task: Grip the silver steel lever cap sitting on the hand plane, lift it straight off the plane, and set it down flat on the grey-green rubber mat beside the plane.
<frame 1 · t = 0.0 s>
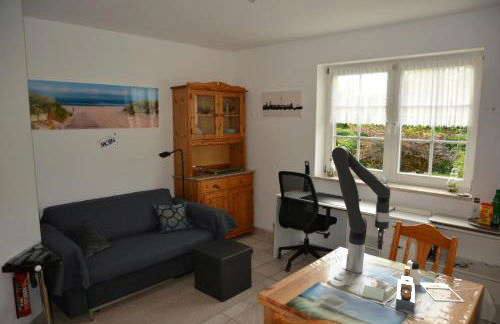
hand: (380, 246, 199), 17 cm above the table, tool pointing down, fingers open, 8 cm apart
lever cap: (406, 287, 175), point 6 cm above the table, touching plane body
medicine bottle: (411, 282, 194), on the table
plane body: (404, 299, 175), on the table
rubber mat: (373, 293, 180), on the table
photo frame: (440, 293, 184), on the table
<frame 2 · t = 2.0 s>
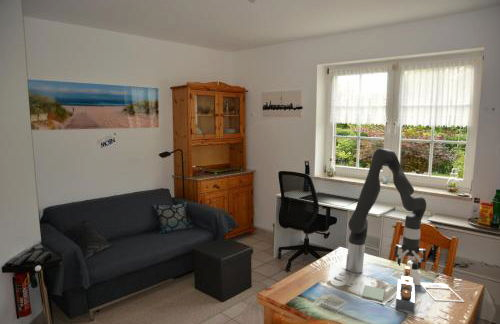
hand: (408, 266, 174), 17 cm above the table, tool pointing down, fingers open, 8 cm apart
nothing on the table moved.
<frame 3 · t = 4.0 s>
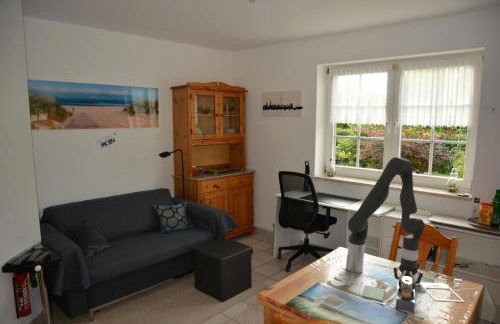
hand: (406, 288, 175), 5 cm above the table, tool pointing down, fingers closed on lever cap, 5 cm apart
lever cap: (406, 287, 175), point 6 cm above the table, touching gripper, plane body
everything else where it was.
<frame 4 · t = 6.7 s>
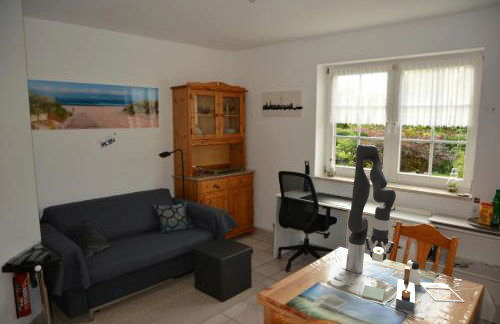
hand: (377, 258, 177), 19 cm above the table, tool pointing down, fingers closed on lever cap, 5 cm apart
lever cap: (377, 258, 177), point 20 cm above the table, touching gripper
everything else where it was.
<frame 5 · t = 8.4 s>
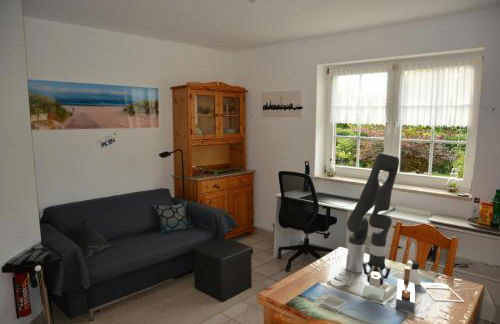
hand: (374, 283, 179), 6 cm above the table, tool pointing down, fingers closed on lever cap, 5 cm apart
lever cap: (374, 282, 179), point 6 cm above the table, touching gripper
everything else where it was.
when the fingers open (2 cm above the table, at t = 9.6 s): lever cap drops 1 cm, resting on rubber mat.
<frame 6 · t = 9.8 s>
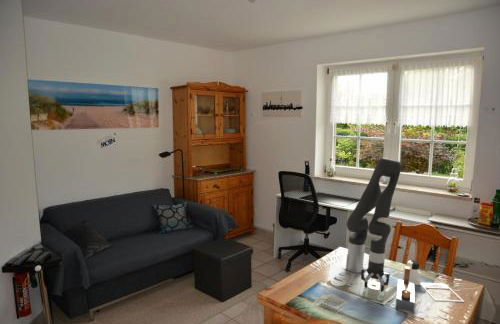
hand: (373, 289, 179), 2 cm above the table, tool pointing down, fingers open, 7 cm apart
lever cap: (373, 292, 179), point 1 cm above the table, touching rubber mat
everything else where it was.
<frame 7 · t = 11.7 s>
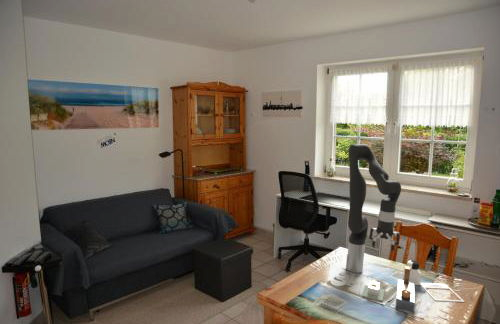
hand: (382, 249, 178), 24 cm above the table, tool pointing down, fingers open, 8 cm apart
nothing on the table moved.
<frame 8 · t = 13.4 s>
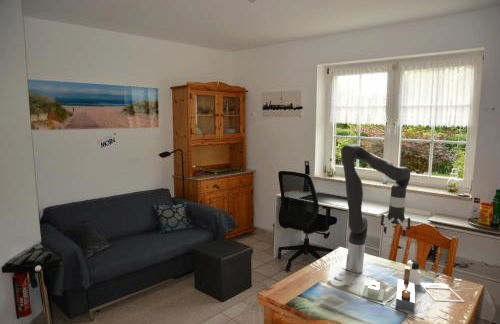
hand: (394, 234, 181), 30 cm above the table, tool pointing down, fingers open, 8 cm apart
nothing on the table moved.
at the end: lever cap inside the target area on the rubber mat (0.0 cm from its centre), point 0.8 cm above the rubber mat's base; lever cap tilted 0°; the gripper is holding nothing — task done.
